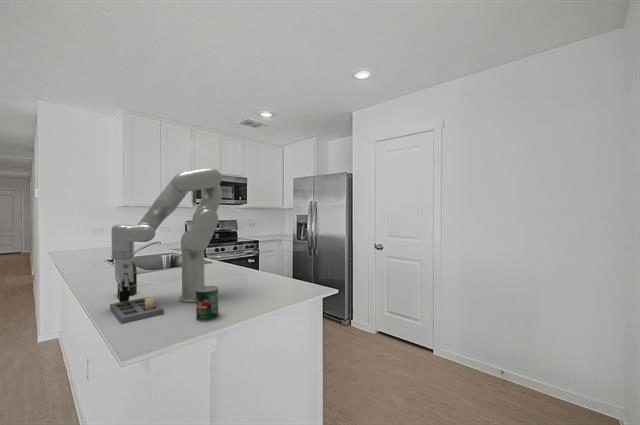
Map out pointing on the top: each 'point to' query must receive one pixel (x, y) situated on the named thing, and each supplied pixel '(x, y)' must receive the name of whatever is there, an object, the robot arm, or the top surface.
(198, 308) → the canned tomato
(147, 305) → the peg board
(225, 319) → the top surface
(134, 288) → the beer bottle
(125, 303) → the beech pin
